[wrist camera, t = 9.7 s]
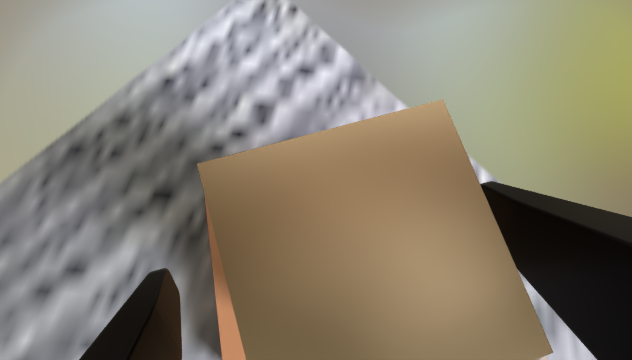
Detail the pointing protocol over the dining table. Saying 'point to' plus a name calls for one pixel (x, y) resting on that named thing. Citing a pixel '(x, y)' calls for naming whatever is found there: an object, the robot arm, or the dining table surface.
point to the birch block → (368, 247)
